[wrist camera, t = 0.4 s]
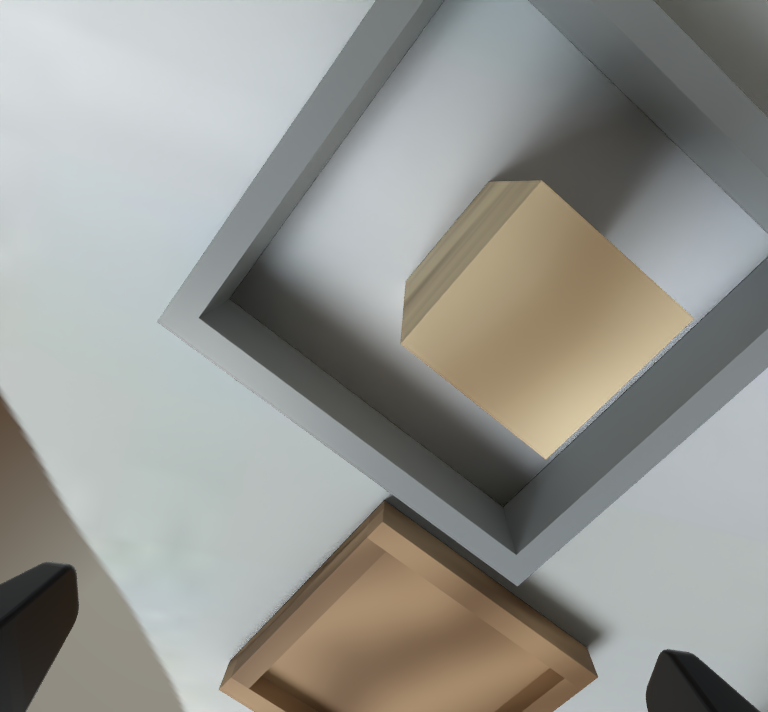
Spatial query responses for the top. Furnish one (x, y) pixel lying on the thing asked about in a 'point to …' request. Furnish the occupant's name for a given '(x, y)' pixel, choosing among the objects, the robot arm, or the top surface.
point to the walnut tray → (405, 636)
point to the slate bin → (628, 413)
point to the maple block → (534, 313)
